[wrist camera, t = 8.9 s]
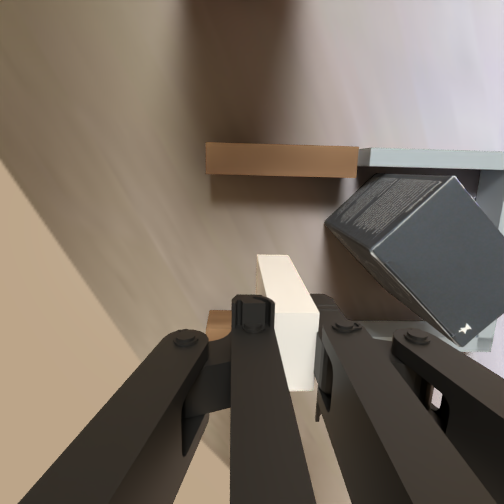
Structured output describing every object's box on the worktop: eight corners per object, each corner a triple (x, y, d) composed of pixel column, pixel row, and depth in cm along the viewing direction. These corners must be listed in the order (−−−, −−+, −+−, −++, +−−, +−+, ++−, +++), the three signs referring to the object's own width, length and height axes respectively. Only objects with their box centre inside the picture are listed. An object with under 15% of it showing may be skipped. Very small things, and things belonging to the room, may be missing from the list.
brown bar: (209, 145, 27) (205, 142, 23) (343, 149, 27) (358, 146, 24) (209, 332, 30) (206, 353, 27) (328, 333, 31) (340, 354, 27)
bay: (356, 149, 27) (371, 147, 24) (498, 153, 28) (529, 152, 25) (340, 333, 31) (351, 351, 28) (466, 334, 31) (490, 352, 28)
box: (437, 241, 29) (546, 283, 19) (383, 288, 30) (459, 353, 20) (375, 169, 28) (457, 172, 17) (320, 221, 28) (368, 253, 18)
